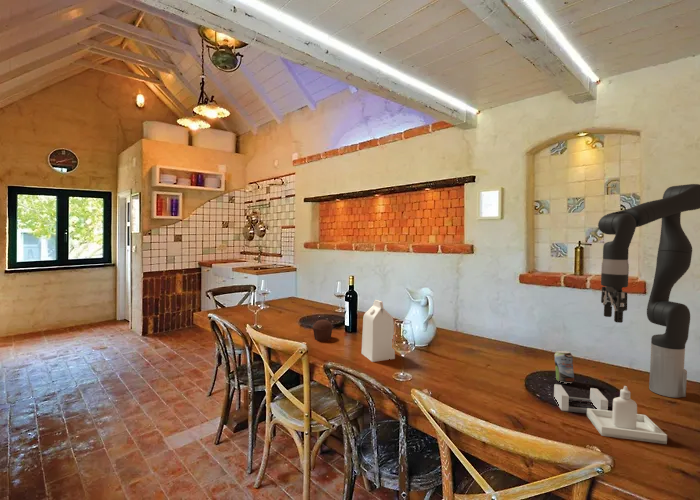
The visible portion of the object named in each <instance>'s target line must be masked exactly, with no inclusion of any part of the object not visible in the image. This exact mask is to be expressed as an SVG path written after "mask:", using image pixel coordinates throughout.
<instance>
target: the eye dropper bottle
mask: <svg viewBox="0 0 700 500" xmlns="http://www.w3.org/2000/svg"><path fill="white" fill-rule="evenodd" d="M611 411H612V423H613V424H614V425H615V426H617V427H620V428H624V429H636V423H637V414H638V404H637V403H636V401H635V400H633V399H632V398H631V391H630V390H629V389H628V386H626V385H623V388H621V389H620V390H619V396H618V397H614V398H613V399H612V410H611Z"/></svg>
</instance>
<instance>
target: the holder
mask: <svg viewBox="0 0 700 500" xmlns="http://www.w3.org/2000/svg"><path fill="white" fill-rule="evenodd" d="M554 397H555V399H556V400H557V402H558V404H559V406H558V408H559V409H560V410H561V411H563V412H571V413H573V412H574V413H580V414H587V408H588V407H587V408H586V407H580V406H579V407H578V406H577V407H576V406H570V405H569V404H570V403H569V402H570V401H569V399H573V400H582V401H589V402H592V403H593V405H594V406H595V407H596V408H597V409H599V410H608V409H609V408H608V407H609V400H608V398H606V396H605V395H603V393H602V392H601V391H600V390H599V389H598V388H594V387H590V390H589V398H586V397H576V396H569V394H568V393H567V391H566V390H565V388H564V387H563V386H562V384H557V383H555V384H554V386H553V398H554ZM555 399H554V400H555ZM557 402H556V403H557ZM558 404H557V405H558ZM608 411H609V410H608Z"/></svg>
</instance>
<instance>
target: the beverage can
mask: <svg viewBox="0 0 700 500" xmlns="http://www.w3.org/2000/svg"><path fill="white" fill-rule="evenodd" d="M554 366H555V367H554V368H555V380H556V381H558V382H559V381H560V382H559V383H561V382H564V383H563V384H567V383H570V384H573V383H574V382H575V374H574V373H575V372H574V371H575V370H574V358H573V355H572V353H571V352H570V351H568V350H555V353H554Z"/></svg>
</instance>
